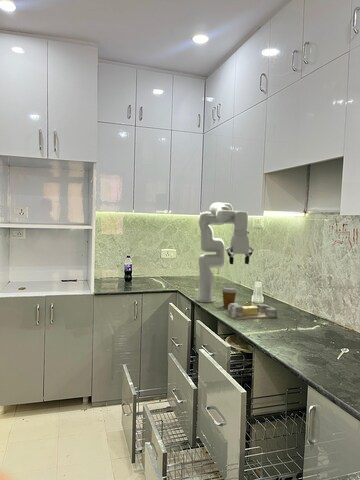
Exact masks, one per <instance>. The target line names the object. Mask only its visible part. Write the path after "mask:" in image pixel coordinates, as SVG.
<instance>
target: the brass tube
mask: <svg viewBox="0 0 360 480" xmlns="http://www.w3.org/2000/svg"><path fill="white" fill-rule="evenodd" d="M241 306H242V305H241ZM242 307H243V315H256V314H258V307H257V305H246V306H245V305H244V306H242Z"/></svg>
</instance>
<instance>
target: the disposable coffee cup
mask: <svg viewBox="0 0 360 480" xmlns="http://www.w3.org/2000/svg"><path fill="white" fill-rule="evenodd" d="M221 291H222V302H223V303H222V304H223V307H224V308H227V309H228V305H230V303H236V302H235V300H236V295H237V291H238V289H237V288H236V287H232V286H224V287H222V289H221Z"/></svg>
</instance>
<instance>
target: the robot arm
mask: <svg viewBox="0 0 360 480" xmlns="http://www.w3.org/2000/svg"><path fill="white" fill-rule="evenodd" d="M226 224H227V225H229V224H231V225H233V235H232V236H231V240H230V245H229V246H228V247H226V248H225V242H224V241H223V239H222V238H218V237H214V230H213V228H212V226H223V225H226ZM248 224H249V213H248V211H244V210H234V209H233V206H232V204H230V203H228V202H213V203H212V204H211V205H210V206H209V211H204V212H201V213H200V214H199V216H198V226H199V229H200V250H201V251H202V252H204V253H203V254H201V255H199V258H198V267H199V268H198V269H199V273H198V274H199V278H198V280H199V281H198V297H196V301H197V302H199V303H200V302H201V303H214V302H215V301H216V299H215V298H213V296H214V273H213V271H212V269H221V268H223V267H224V265H225V253H226V254H227V256H228V258H229V260H228V262H229V264H230V265H234V256H235V255H236V254H237V255H245V256H244V264H245V265H249V263H250V257H251V256H252V255H253V252H254V251H255V249H254V248H253V247H250V240H249V236H248V235H249V234H250V231H248V226H249V225H248ZM211 225H212V226H211ZM205 252H206V253H205Z"/></svg>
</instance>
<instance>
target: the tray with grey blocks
mask: <svg viewBox="0 0 360 480" xmlns="http://www.w3.org/2000/svg"><path fill="white" fill-rule="evenodd" d="M256 307H258V314H256V315H243V307H242V305H240V304H239V303H237V302H234V303H230V305H228V308H227V311H226V312H225V314H226V315H227V316H229V317H231V318H233V319H234V320H240V321H241V320H252V319H269V318H270V319H271V318H278V316H277V315H278V309H276V308H275V307H272V306H270V305H267V304H265V303H258V304H256Z"/></svg>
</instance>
